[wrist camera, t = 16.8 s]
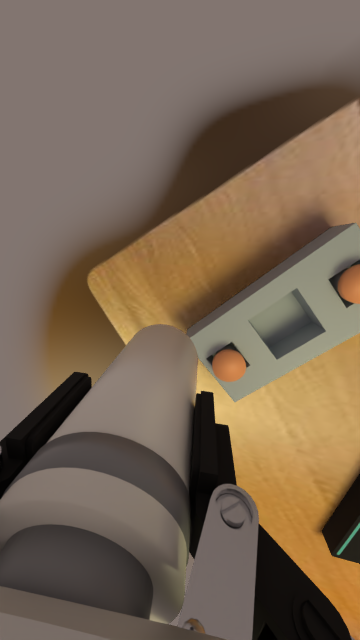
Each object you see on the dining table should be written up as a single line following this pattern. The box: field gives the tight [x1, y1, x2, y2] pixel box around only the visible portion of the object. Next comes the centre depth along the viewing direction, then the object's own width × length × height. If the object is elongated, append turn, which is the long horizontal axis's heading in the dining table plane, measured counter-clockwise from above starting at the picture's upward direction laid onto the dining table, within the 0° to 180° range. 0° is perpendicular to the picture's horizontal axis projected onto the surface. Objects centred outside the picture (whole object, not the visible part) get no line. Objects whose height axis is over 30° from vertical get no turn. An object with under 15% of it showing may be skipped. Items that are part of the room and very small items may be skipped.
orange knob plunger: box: [212, 343, 246, 382], centre depth 32 cm, size 4×4×5 cm
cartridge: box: [0, 324, 198, 624], centre depth 10 cm, size 5×5×12 cm
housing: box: [186, 223, 360, 402], centre depth 31 cm, size 24×12×5 cm, turn 129°
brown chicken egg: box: [328, 264, 360, 304], centre depth 27 cm, size 4×4×5 cm
